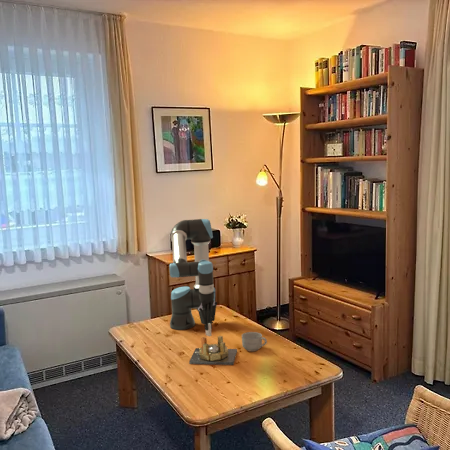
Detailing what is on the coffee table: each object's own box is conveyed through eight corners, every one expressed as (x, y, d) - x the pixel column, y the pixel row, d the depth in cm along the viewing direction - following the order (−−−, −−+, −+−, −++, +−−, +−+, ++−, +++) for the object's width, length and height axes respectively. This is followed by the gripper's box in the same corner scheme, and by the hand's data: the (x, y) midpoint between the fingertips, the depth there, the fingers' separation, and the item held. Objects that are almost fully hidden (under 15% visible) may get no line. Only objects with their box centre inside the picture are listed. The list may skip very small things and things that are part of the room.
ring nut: (193, 356, 243) (193, 342, 241) (211, 346, 254) (210, 333, 253) (216, 362, 234) (215, 348, 233) (233, 352, 245) (232, 338, 244)
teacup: (238, 349, 253) (237, 335, 252) (251, 343, 261) (250, 329, 259) (258, 356, 243) (258, 341, 242) (271, 349, 251) (271, 335, 250)
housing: (195, 350, 254) (195, 340, 253) (237, 351, 250) (236, 341, 250) (189, 364, 238) (188, 353, 237) (233, 365, 235) (232, 354, 234)
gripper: (202, 296, 237) (204, 341, 241) (220, 290, 246) (222, 333, 251) (192, 293, 242) (194, 337, 246) (210, 287, 252) (212, 329, 256)
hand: (208, 335), depth 248 cm, fingers closed
